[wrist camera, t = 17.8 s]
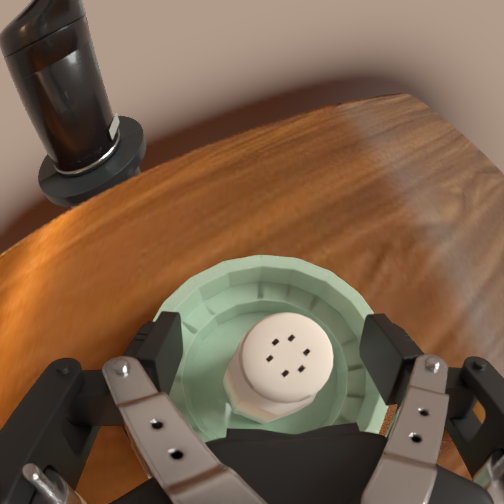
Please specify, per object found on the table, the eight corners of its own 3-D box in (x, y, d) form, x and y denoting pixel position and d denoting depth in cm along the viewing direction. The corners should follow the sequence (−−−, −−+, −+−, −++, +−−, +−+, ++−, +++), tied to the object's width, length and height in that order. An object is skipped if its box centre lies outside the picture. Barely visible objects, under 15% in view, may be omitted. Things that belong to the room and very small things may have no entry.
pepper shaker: (204, 381, 17) (155, 347, 8) (266, 328, 19) (286, 240, 10) (262, 440, 16) (284, 482, 6) (323, 383, 17) (406, 350, 8)
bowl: (132, 340, 19) (103, 319, 15) (293, 259, 23) (304, 221, 18) (225, 506, 13) (219, 534, 9) (393, 403, 17) (431, 398, 13)
